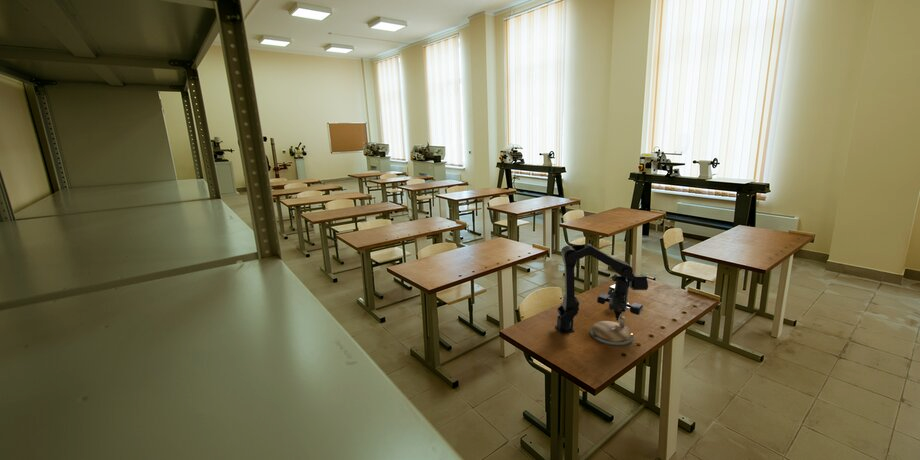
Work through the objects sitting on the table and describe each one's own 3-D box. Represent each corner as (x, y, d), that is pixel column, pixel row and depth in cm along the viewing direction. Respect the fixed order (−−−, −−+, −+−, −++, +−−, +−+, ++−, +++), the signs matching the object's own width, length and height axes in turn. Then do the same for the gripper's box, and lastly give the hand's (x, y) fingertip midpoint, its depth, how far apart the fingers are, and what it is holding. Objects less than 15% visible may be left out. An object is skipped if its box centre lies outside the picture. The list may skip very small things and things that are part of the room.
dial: (613, 346, 162) (614, 334, 161) (584, 329, 176) (585, 318, 174) (638, 335, 169) (640, 324, 168) (609, 320, 183) (610, 310, 182)
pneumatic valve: (606, 307, 198) (607, 285, 195) (618, 300, 205) (620, 279, 202) (616, 311, 194) (618, 289, 191) (628, 304, 201) (630, 282, 198)
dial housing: (606, 349, 162) (606, 346, 162) (582, 328, 179) (582, 325, 179) (642, 341, 167) (642, 338, 167) (615, 322, 184) (615, 319, 183)
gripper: (593, 289, 172) (590, 320, 177) (637, 302, 161) (632, 335, 165) (603, 281, 180) (599, 311, 185) (645, 293, 169) (640, 324, 173)
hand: (617, 320), depth 177 cm, fingers closed
